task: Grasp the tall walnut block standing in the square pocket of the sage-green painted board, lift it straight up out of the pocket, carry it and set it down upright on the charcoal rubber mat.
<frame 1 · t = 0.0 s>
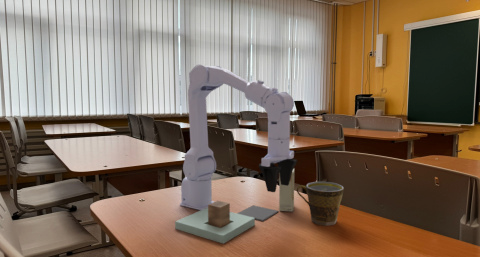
hand: (278, 188, 92), 10 cm above the table, tool pointing down, fingers open, 7 cm apart
rubber mat: (257, 213, 102), on the table
ceramic cup: (318, 221, 96), on the table
pocket board: (215, 226, 92), on the table
walnut block: (219, 229, 90), resting in pocket board
skincare box: (286, 208, 106), on the table
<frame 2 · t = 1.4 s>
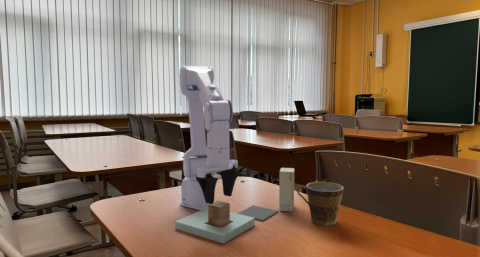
hand: (218, 199, 89), 8 cm above the table, tool pointing down, fingers open, 7 cm apart
nothing on the table moved.
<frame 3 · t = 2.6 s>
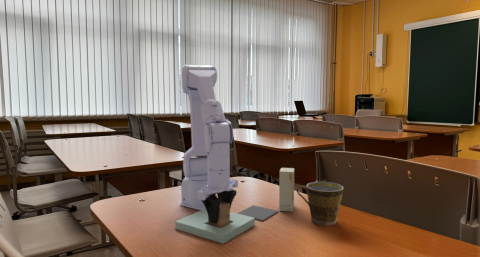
hand: (219, 219, 89), 3 cm above the table, tool pointing down, fingers closed on walnut block, 4 cm apart
walnut block: (219, 229, 90), resting in pocket board, touching gripper
everything else where it was.
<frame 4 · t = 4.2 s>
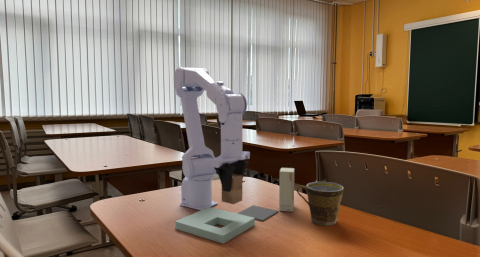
hand: (231, 189, 92), 10 cm above the table, tool pointing down, fingers closed on walnut block, 4 cm apart
walnut block: (232, 200, 93), point 7 cm above the table, touching gripper
everything else where it was.
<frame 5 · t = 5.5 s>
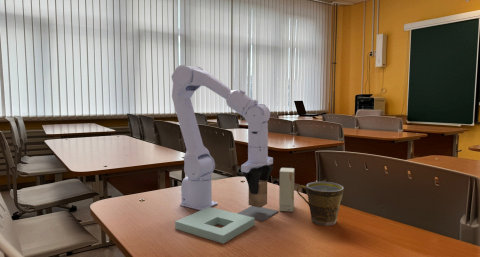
hand: (257, 191, 101), 7 cm above the table, tool pointing down, fingers closed on walnut block, 4 cm apart
walnut block: (257, 204, 101), point 3 cm above the table, touching gripper
everything else where it was.
when the fingers open (4 cm above the table, at t = 6.4 s): walnut block stays where it is, resting on rubber mat.
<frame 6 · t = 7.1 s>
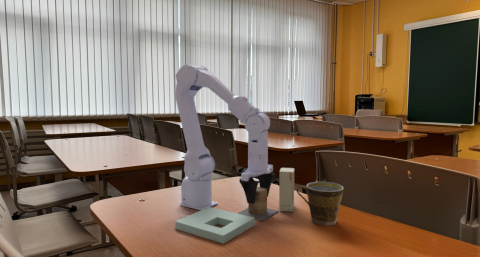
hand: (257, 199, 101), 4 cm above the table, tool pointing down, fingers open, 7 cm apart
walnut block: (257, 212, 102), resting on rubber mat
everything else where it was.
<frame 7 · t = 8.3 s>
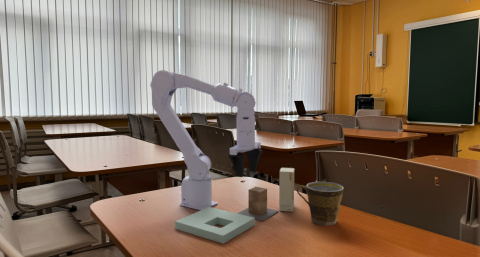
hand: (246, 174, 108), 10 cm above the table, tool pointing down, fingers open, 7 cm apart
nothing on the table moved.
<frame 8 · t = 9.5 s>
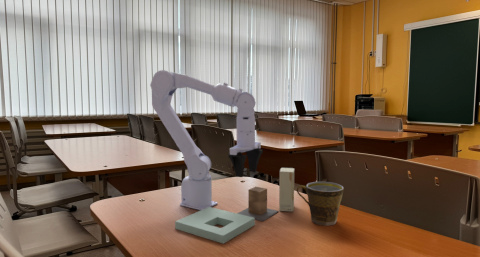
hand: (246, 174, 108), 10 cm above the table, tool pointing down, fingers open, 7 cm apart
nothing on the table moved.
at the end: walnut block inside the target area on the rubber mat (0.0 cm from its centre), point 0.4 cm above the rubber mat's base; walnut block tilted 0°; the gripper is holding nothing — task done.
